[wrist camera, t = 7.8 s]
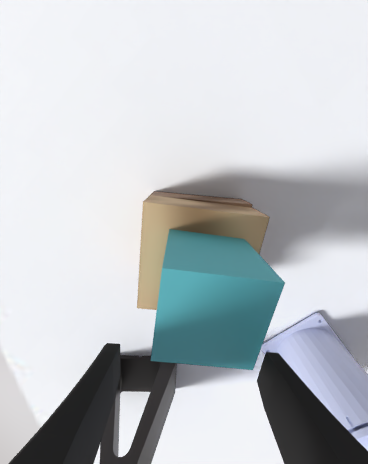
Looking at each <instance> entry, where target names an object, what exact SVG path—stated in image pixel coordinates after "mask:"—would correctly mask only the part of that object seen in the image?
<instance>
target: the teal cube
mask: <svg viewBox="0 0 368 464" xmlns="http://www.w3.org/2000/svg"><path fill="white" fill-rule="evenodd" d="M284 284H285V282H284V281H283V280H282V279H281V278H280V277H279V276H278V275H277V274H276V273H275V271H274V270H273V269H272V268H271V267H270V266H269V265H268V264H267V263H266V262H265V261H264V259H263V258H262V257H261V256H260V255H259V254H258V253H257V252H256V251H255V250H254V249H253V247H252V246H251V245H250V244H249V243H248V242H247V241H246V240H245V239H241V238H233V237H226V236H218V235H211V234H203V233H195V232H188V231H180V230H173V229H169V234H168V239H167V244H166V250H165V255H164V260H163V266H162V272H161V280H160V289H159V297H158V305H157V313H156V321H155V329H154V338H153V346H152V354H151V361H157V362H168V363H180V364H191V365H202V366H214V367H225V368H236V369H247V370H253V368H254V365H255V363H256V360H257V357H258V355H259V352H260V349H261V346H262V344H263V341H264V338H265V336H266V333H267V330H268V327H269V325H270V322H271V319H272V317H273V314H274V311H275V308H276V306H277V303H278V300H279V298H280V295H281V292H282V289H283V287H284Z"/></svg>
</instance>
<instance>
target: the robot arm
mask: <svg viewBox="0 0 368 464" xmlns="http://www.w3.org/2000/svg"><path fill="white" fill-rule="evenodd" d="M261 350H262V352H263V353H264V354H265V357H264V360H263V364H262V367H261V370H260V373H259V376H258V379H257V383H258V387H259V391H260V395H261V398H262V402H263V405H264V409H265V412H266V414H267V417H268V420H269V423H270V426H271V428H272V431H273V434H274V437H275V439H276V442H277V445H278V447H279V450H280V453H281V456H282V458H283V461H284V464H368V374H367V373H366V372H365V370H364V369H363V368H362V367H361V366H360V365H359V364H358V363H357V362H356V361H355V360H354V358H353V356H352V355H351V354H350V352H349V351H348V350H347V348H346V347H345V346H344V344H343V343H342V342H341V340H340V339H339V338H338V336H337V335H336V334H335V332H334V331H333V330H332V328H331V327H330V326H329V324H328V323H327V322H326V320H325V319H324V318H323V316H322V315H321V314H320V313H315V314H313V315H311V316H310V317H308V318H306V319H304V320H303V321H301V322H299V323H298V324H296V325H294V326H293V327H291V328H289V329H288V330H286V331H284V332H283V333H281V334H279V335H277V336H276V337H274V338H272V339H271V340H269V341H267V342H266V343H264V344H262V346H261ZM119 378H120V344H111V343H107V344H106V345H105V346H104V347H103V349H102V350H101V352H100V353H99V354H98V356H97V357H96V359H95V360H94V362H93V363H92V364H91V366H90V367H89V369H88V370H87V371H86V373H85V374H84V375H83V377H82V378H81V379H80V380H79V382H78V383H77V384H76V386H75V387H74V388H73V389H72V391H71V392H70V393H69V395H68V396H67V397H66V398H65V400H64V401H63V402H62V403H61V404H60V406H59V407H58V408H57V409H56V410H55V412H54V413H53V414H52V415H51V416H50V418H49V419H48V420H47V421H46V422H45V424H44V425H43V426H42V427H41V428H40V429H39V430H38V432H37V433H36V434H35V435H34V436H33V437H32V438H31V439H30V441H29V442H28V443H27V444H26V445H25V446H24V447H23V448H22V449H21V451H20V452H19V453H18V454H17V455H16V456H15V457H14V458H13V459H12V460H11V462H10V463H9V464H93V463H94V460H95V457H96V454H97V451H98V448H99V445H100V442H101V439H102V436H103V433H104V430H105V427H106V424H107V421H108V418H109V415H110V412H111V409H112V406H113V402H114V399H115V395H116V391H117V387H118V382H119Z"/></svg>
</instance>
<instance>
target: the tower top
mask: <svg viewBox="0 0 368 464" xmlns="http://www.w3.org/2000/svg"><path fill="white" fill-rule="evenodd" d="M269 218H270V217H268V216H267V215H265V214H263V213H261V212H259V211H257V210H256V209H254V208H250V207H242V206H234V205H226V204H218V203H210V202H202V201H194V200H186V199H178V198H170V197H162V196H154V195H150V196H149V197H148V198H147V199H146V200H145V201H143V212H142V230H141V247H140V265H139V283H138V300H137V308H142V309H153V310H157V305H158V297H159V289H160V280H161V272H162V266H163V260H164V255H165V250H166V244H167V239H168V234H169V229H173V230H180V231H188V232H195V233H203V234H211V235H218V236H226V237H233V238H241V239H245V240H246V241H247V242H248V243H249V244H250V245H251V246H252V247H253V249H254V250H255V251H256V252H257V253H258V254H259V253H260V250H261V246H262V243H263V239H264V235H265V232H266V228H267V225H268V221H269Z"/></svg>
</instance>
